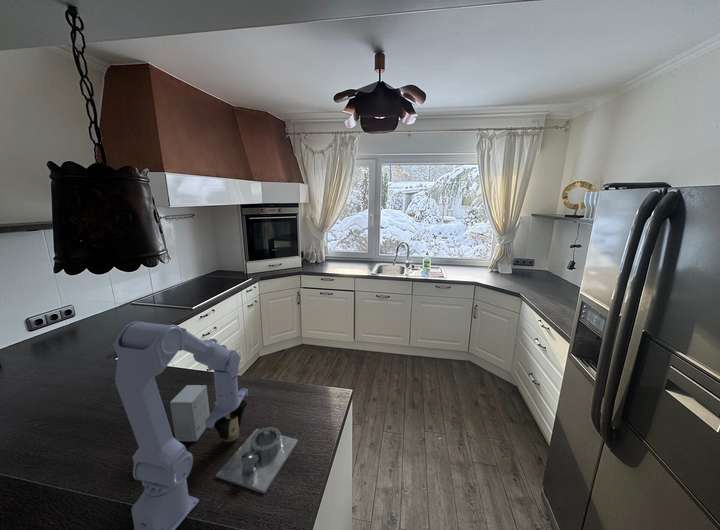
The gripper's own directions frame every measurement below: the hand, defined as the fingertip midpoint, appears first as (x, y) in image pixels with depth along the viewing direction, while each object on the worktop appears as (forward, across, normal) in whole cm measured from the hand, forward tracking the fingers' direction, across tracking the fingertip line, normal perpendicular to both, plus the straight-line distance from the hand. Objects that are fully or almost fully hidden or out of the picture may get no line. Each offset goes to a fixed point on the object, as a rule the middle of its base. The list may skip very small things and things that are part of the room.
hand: (230, 431), depth 83 cm
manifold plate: (+3, +3, +12) cm, 13 cm away
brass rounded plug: (+2, 0, 0) cm, 2 cm away
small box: (+3, +1, -13) cm, 13 cm away
